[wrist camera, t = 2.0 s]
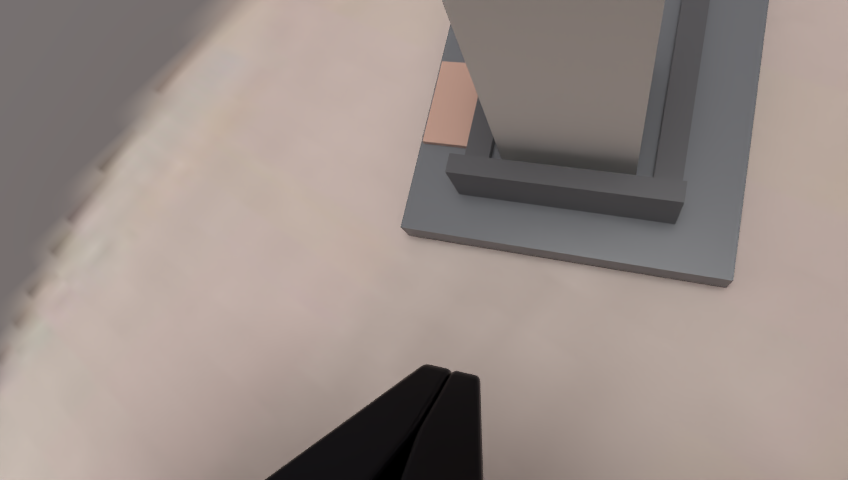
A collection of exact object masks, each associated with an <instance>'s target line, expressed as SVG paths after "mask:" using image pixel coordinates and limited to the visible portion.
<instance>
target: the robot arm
mask: <svg viewBox="0 0 848 480" xmlns="http://www.w3.org/2000/svg"><path fill="white" fill-rule="evenodd" d="M265 480H483V461H482V428H481V395H480V379H479V377H478V376H476V375H472V374H467V373H463V372H459V371H454V372H452V373H451V371H450V370H449V369H446V368H442V367H437V366H433V365H428V364H427V365H423V366H421V367H420V368H418V369H417V370H415V371H414V372H413V373H411V374H410V375H408V376H407V377H406V378H404V379H403V380H402V381H400V382H399V383H397V384H396V385H395V386H393V387H392V388H391V389H389V390H388V391H386V392H385V393H384V394H382V395H381V396H380V397H378V398H377V399H375V400H374V401H373V402H371V403H370V404H369V405H367V406H366V407H364V408H363V409H362V410H360V411H359V412H358V413H356V414H355V415H353V416H352V417H351V418H349V419H348V420H346V421H345V422H344V423H342V424H341V425H340V426H338V427H337V428H335V429H334V430H333V431H331V432H330V433H329V434H327V435H326V436H324V437H323V438H322V439H320V440H319V441H318V442H316V443H315V444H313V445H312V446H311V447H309V448H308V449H307V450H305V451H304V452H302V453H301V454H300V455H298V456H297V457H296V458H294V459H293V460H291V461H290V462H289V463H287V464H286V465H284V466H283V467H282V468H280V469H279V470H278V471H276V472H275V473H273V474H272V475H271V476H269V477H268V478H267V479H265Z"/></svg>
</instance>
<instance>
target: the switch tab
mask: <svg viewBox="0 0 848 480" xmlns="http://www.w3.org/2000/svg"><path fill="white" fill-rule="evenodd" d="M442 2H443V5H444V7H445V10H446V13H447V15H448V18H449V21H450V23H451V26H452V29H453V31H454V34H455V36H456V39H457V42H458V44H459V47H460V50H461V52H462V55H463V58H464V60H465V63H466V66H467V68H468V71H469V74H470V76H471V79H472V82H473V84H474V87H475V90H476V92H477V95H478V97H479V100H480V103H481V105H482V108H483V111H484V113H485V116H486V119H487V121H488V124H489V127H490V129H491V132H492V135H493V137H494V140H495V143H496V145H497V148H498V151H499V153H500V156H501V158H502V159H504V160H512V161H521V162H529V163H538V164H546V165H555V166H563V167H572V168H580V169H589V170H597V171H606V172H614V173H623V174H631V175H636V172H637V166H638V160H639V154H640V148H641V142H642V136H643V130H644V124H645V118H646V112H647V106H648V100H649V94H650V88H651V82H652V76H653V69H654V63H655V57H656V51H657V45H658V39H659V33H660V27H661V21H662V15H663V9H664V3H665V0H442Z"/></svg>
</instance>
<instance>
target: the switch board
mask: <svg viewBox="0 0 848 480" xmlns="http://www.w3.org/2000/svg"><path fill="white" fill-rule="evenodd" d="M768 2H769V0H665V3H664V9H663V15H662V21H661V27H660V33H659V39H658V45H657V51H656V57H655V63H654V69H653V76H652V82H651V88H650V94H649V100H648V106H647V112H646V118H645V124H644V130H643V136H642V142H641V148H640V154H639V160H638V166H637V172H636V175H631V174H623V173H614V172H606V171H597V170H589V169H580V168H572V167H563V166H555V165H546V164H538V163H529V162H521V161H512V160H504V159H502V158H501V156H500V153H499V151H498V148H497V145H496V143H495V140H494V137H493V135H492V132H491V129H490V127H489V124H488V121H487V119H486V116H485V113H484V111H483V108H482V105H481V103H480V100H479V97H478V95H477V92H476V90H475V87H474V84H473V82H472V79H471V76H470V74H469V71H468V68H467V66H466V63H465V60H464V58H463V55H462V52H461V50H460V47H459V44H458V42H457V39H456V36H455V34H454V31H453V29H452V26H451V24H450V28H449V32H448V36H447V40H446V45H445V49H444V53H443V57H442V61H441V65H440V69H439V73H438V77H437V81H436V85H435V89H434V94H433V98H432V102H431V106H430V110H429V114H428V118H427V122H426V126H425V130H424V134H423V138H422V142H421V147H420V151H419V155H418V159H417V163H416V167H415V171H414V175H413V179H412V183H411V187H410V191H409V195H408V200H407V204H406V208H405V212H404V216H403V220H402V224H401V228H402V229H403V230H404V231H405V232H406V233H407V234H409V235H411V236H417V237H423V238H429V239H435V240H441V241H447V242H453V243H459V244H465V245H471V246H477V247H483V248H489V249H495V250H501V251H508V252H514V253H520V254H526V255H532V256H538V257H544V258H550V259H556V260H562V261H568V262H574V263H580V264H586V265H592V266H598V267H604V268H611V269H617V270H623V271H629V272H635V273H641V274H647V275H653V276H659V277H665V278H671V279H677V280H683V281H689V282H695V283H701V284H707V285H714V286H720V287H727V286H728V285H729V284H730V283H731V282H732V281H733V277H734V269H735V262H736V254H737V246H738V238H739V230H740V222H741V214H742V207H743V199H744V191H745V183H746V175H747V167H748V159H749V151H750V144H751V136H752V128H753V120H754V112H755V104H756V96H757V88H758V81H759V73H760V65H761V57H762V49H763V41H764V33H765V26H766V18H767V10H768Z"/></svg>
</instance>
